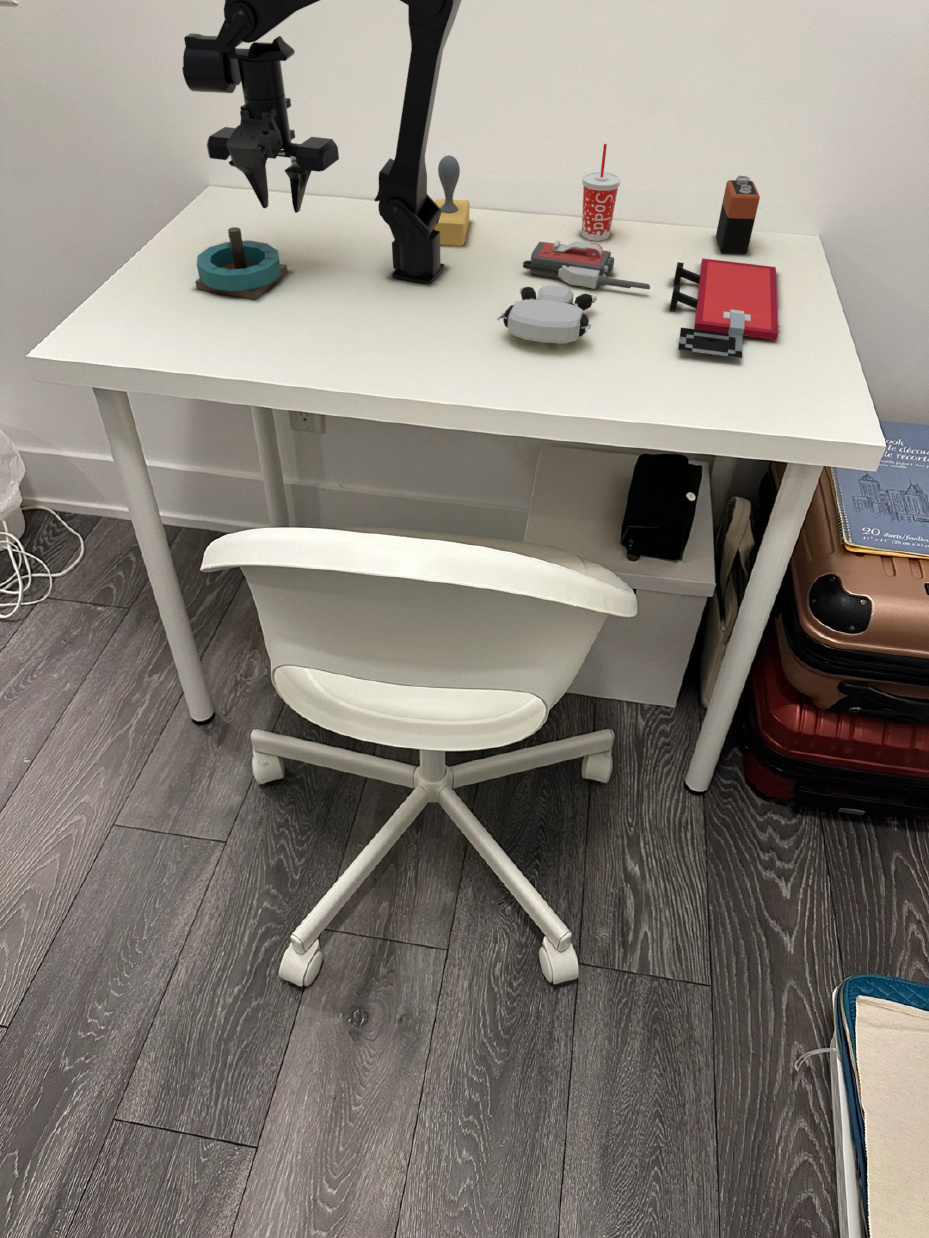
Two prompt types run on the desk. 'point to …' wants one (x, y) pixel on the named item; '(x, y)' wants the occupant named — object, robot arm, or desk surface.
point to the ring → (239, 277)
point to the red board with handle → (728, 306)
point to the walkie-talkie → (576, 264)
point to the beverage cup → (599, 202)
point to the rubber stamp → (451, 205)
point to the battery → (737, 215)
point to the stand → (240, 264)
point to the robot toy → (548, 315)
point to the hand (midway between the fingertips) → (281, 209)
